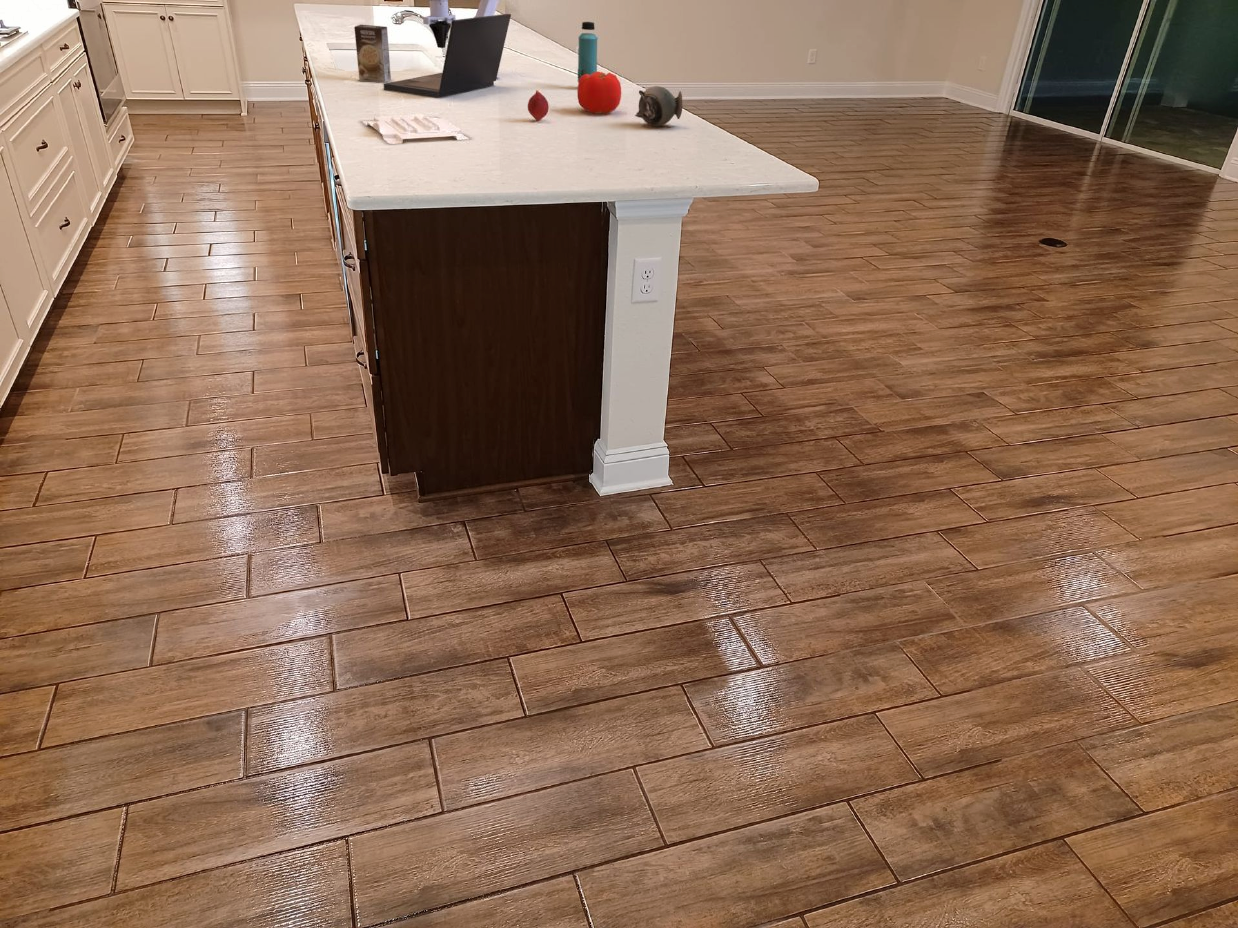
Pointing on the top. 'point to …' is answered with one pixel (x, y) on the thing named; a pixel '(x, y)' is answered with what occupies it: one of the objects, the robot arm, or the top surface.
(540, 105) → the onion
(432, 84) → the laptop
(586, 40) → the beverage bottle
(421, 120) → the tray
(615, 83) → the tomato
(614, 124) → the top surface
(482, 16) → the robot arm
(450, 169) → the top surface
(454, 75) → the laptop screen
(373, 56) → the coffee box
